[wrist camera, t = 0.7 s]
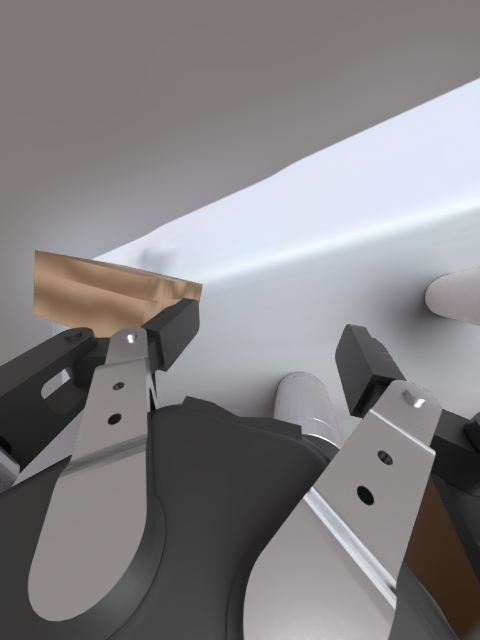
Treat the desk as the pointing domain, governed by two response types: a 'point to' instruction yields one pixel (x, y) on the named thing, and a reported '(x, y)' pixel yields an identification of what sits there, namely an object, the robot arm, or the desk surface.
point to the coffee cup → (456, 296)
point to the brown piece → (102, 293)
